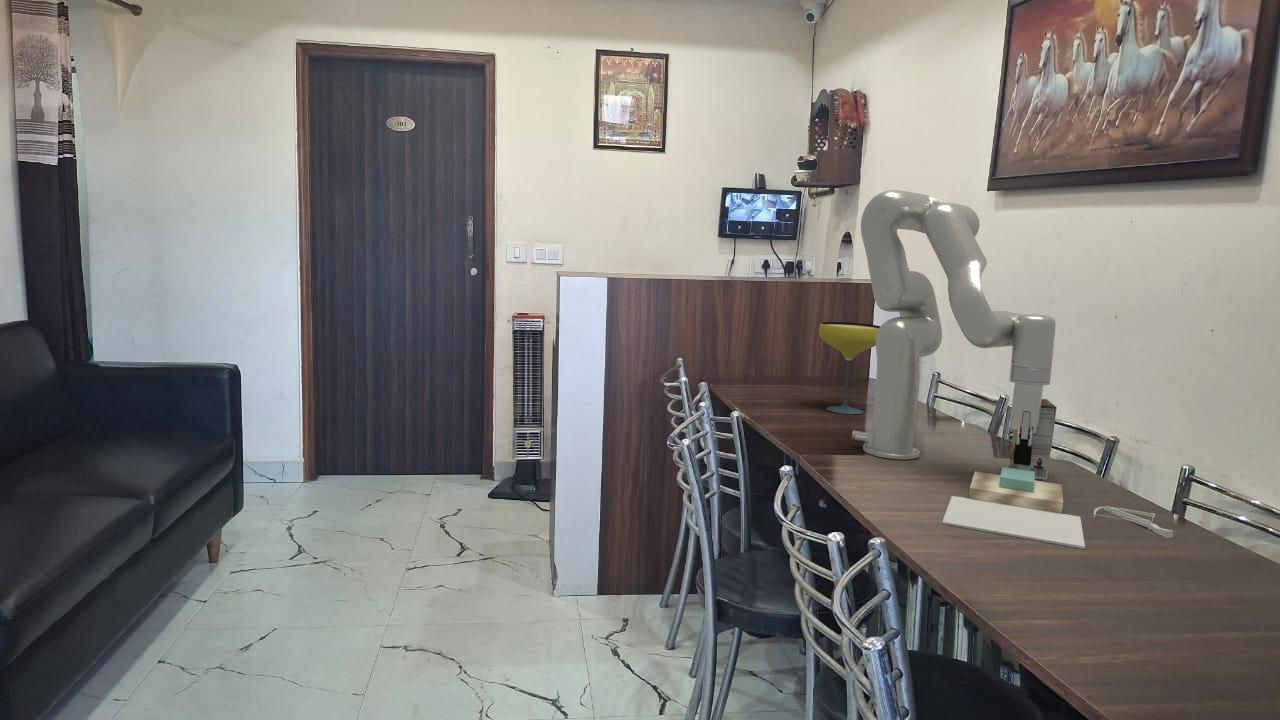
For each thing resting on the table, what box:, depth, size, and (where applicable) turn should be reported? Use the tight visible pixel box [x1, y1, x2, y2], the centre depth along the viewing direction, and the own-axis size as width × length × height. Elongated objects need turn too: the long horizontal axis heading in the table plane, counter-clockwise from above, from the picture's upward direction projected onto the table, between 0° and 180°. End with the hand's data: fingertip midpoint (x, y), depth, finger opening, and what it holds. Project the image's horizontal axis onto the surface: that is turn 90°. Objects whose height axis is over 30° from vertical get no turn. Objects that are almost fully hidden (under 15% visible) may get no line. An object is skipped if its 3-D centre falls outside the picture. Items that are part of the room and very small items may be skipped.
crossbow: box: [1092, 505, 1174, 539], centre depth 154 cm, size 16×13×2 cm
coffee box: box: [1008, 398, 1058, 481], centre depth 184 cm, size 9×6×16 cm
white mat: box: [941, 495, 1086, 550], centre depth 150 cm, size 22×18×1 cm
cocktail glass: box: [818, 321, 881, 415], centre depth 244 cm, size 18×18×25 cm
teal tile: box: [999, 466, 1036, 492], centre depth 166 cm, size 6×9×2 cm, turn 155°
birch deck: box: [968, 471, 1064, 514], centre depth 165 cm, size 16×14×2 cm
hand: (1021, 463), depth 175 cm, fingers closed
